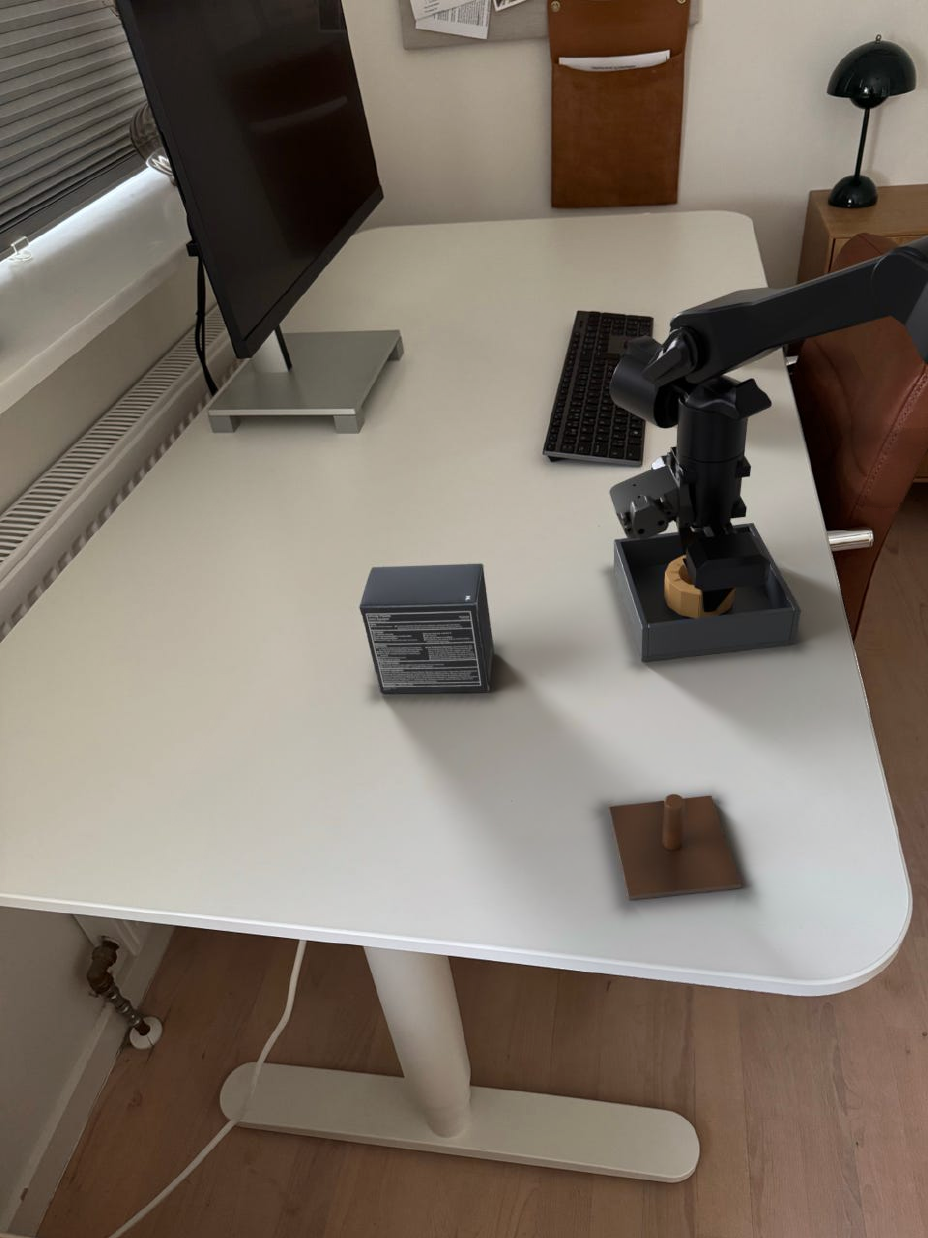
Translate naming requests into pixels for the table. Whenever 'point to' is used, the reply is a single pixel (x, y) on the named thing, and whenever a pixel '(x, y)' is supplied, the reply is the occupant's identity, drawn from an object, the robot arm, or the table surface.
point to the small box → (429, 628)
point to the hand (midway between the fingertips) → (700, 589)
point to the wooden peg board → (672, 847)
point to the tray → (666, 634)
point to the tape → (688, 593)
